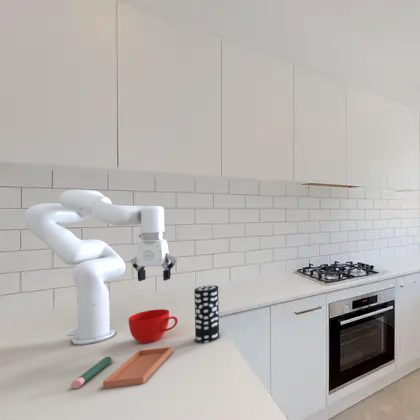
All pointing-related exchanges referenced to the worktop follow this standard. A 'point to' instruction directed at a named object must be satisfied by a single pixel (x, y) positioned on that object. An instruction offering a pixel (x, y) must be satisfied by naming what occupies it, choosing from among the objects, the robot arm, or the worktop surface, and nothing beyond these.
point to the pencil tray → (138, 368)
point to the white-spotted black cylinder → (206, 314)
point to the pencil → (91, 372)
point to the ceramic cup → (150, 325)
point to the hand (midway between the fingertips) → (154, 280)
